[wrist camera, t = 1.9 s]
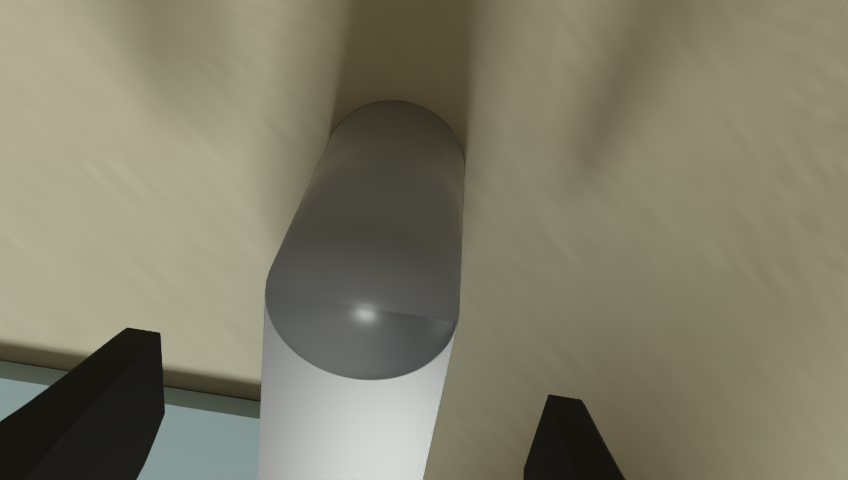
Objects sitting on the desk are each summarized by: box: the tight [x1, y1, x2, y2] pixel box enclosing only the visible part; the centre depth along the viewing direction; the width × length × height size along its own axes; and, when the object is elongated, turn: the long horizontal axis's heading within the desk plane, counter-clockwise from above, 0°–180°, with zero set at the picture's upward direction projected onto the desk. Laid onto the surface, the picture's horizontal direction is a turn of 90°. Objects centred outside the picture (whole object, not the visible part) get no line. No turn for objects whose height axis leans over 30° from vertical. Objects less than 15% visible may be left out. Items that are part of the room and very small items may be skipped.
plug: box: [257, 101, 465, 480], centre depth 15 cm, size 3×11×5 cm, turn 172°
